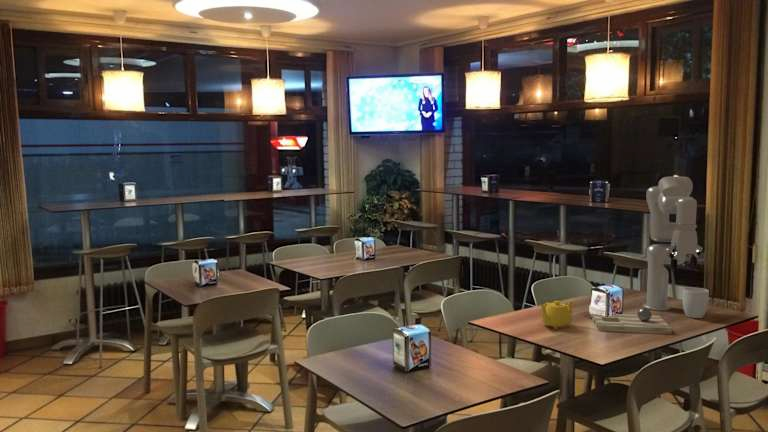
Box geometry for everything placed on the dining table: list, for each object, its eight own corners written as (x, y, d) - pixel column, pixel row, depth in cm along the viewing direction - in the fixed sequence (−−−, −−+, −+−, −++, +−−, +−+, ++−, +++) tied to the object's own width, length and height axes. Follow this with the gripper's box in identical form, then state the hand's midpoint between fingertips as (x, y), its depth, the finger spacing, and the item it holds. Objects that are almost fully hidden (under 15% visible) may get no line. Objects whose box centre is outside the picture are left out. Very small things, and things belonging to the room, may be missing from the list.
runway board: (591, 318, 304) (591, 313, 304) (659, 321, 300) (659, 315, 299) (598, 330, 284) (598, 325, 284) (671, 333, 280) (671, 328, 280)
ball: (635, 318, 294) (636, 305, 294) (649, 319, 293) (650, 306, 293) (638, 322, 288) (639, 309, 288) (652, 323, 287) (653, 309, 287)
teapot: (559, 318, 303) (560, 294, 302) (583, 326, 291) (584, 301, 289) (526, 324, 293) (527, 299, 292) (550, 333, 281) (551, 307, 279)
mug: (692, 311, 317) (693, 284, 316) (715, 315, 309) (717, 288, 307) (677, 316, 308) (678, 289, 306) (700, 321, 299) (702, 293, 298)
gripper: (696, 226, 282) (694, 265, 283) (662, 227, 277) (660, 267, 279) (709, 228, 274) (707, 268, 276) (674, 229, 270) (672, 270, 272)
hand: (683, 267), depth 278 cm, fingers open, 9 cm apart
